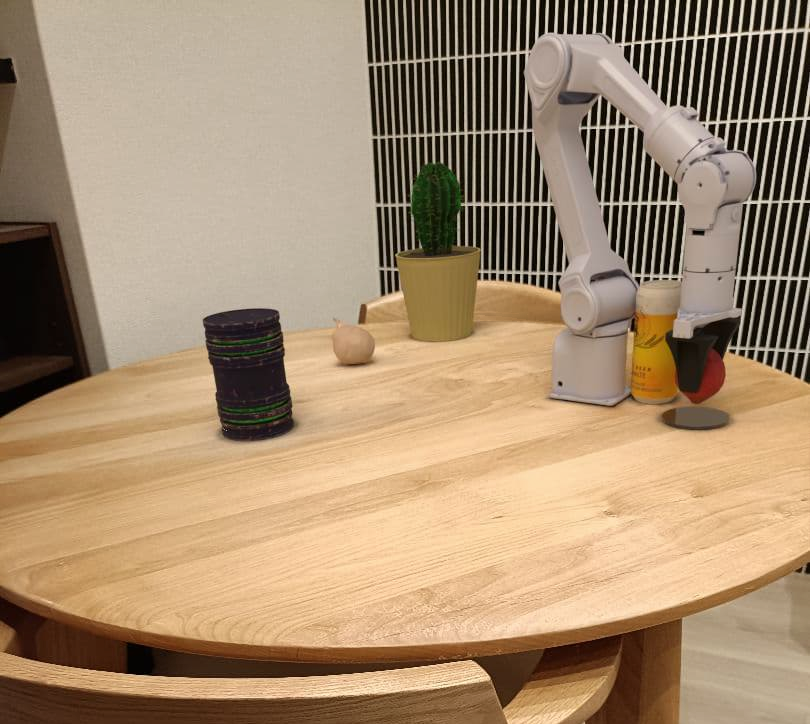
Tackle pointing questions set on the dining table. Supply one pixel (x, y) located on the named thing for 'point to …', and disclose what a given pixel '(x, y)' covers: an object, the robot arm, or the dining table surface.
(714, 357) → the onion
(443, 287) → the potted cactus
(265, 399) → the dark purple cylinder
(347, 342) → the garlic bulb
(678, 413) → the coaster
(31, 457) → the dining table surface
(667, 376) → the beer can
